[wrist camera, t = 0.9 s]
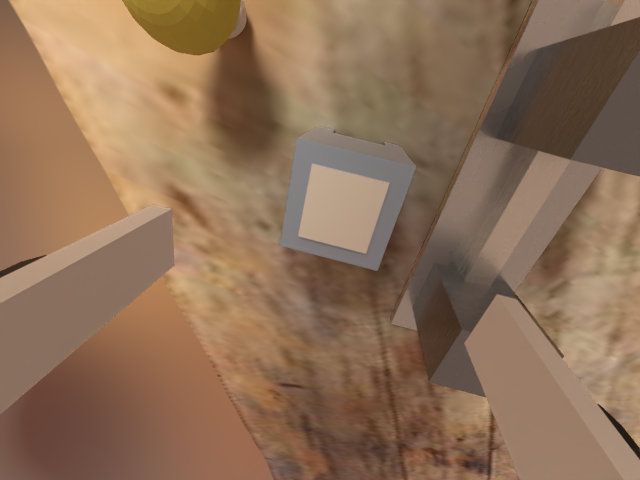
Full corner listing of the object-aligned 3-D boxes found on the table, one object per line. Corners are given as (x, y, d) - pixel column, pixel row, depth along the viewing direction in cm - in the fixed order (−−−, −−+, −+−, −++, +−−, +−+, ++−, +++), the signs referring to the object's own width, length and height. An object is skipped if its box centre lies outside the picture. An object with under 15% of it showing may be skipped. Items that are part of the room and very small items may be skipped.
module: (319, 125, 24) (295, 138, 16) (399, 145, 24) (417, 167, 16) (304, 204, 28) (278, 247, 19) (374, 221, 27) (377, 272, 19)
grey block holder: (535, -7, 18) (694, -109, 9) (687, 26, 18) (999, -48, 9) (390, 317, 32) (399, 398, 24) (473, 339, 32) (514, 430, 23)
